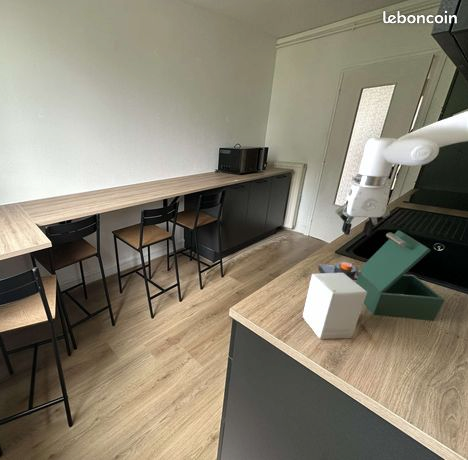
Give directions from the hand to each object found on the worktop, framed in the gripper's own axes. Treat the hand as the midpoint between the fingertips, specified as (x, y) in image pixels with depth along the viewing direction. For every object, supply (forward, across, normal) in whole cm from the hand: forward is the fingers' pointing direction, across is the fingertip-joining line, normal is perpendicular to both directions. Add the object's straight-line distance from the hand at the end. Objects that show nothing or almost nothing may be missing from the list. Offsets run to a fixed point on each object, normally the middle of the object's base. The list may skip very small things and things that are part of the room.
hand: (355, 233), depth 84 cm
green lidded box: (+17, +6, -16) cm, 24 cm away
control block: (+17, -2, 0) cm, 18 cm away
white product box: (+18, -15, -27) cm, 36 cm away
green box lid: (+2, +2, -16) cm, 16 cm away
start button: (+14, 0, 0) cm, 14 cm away
